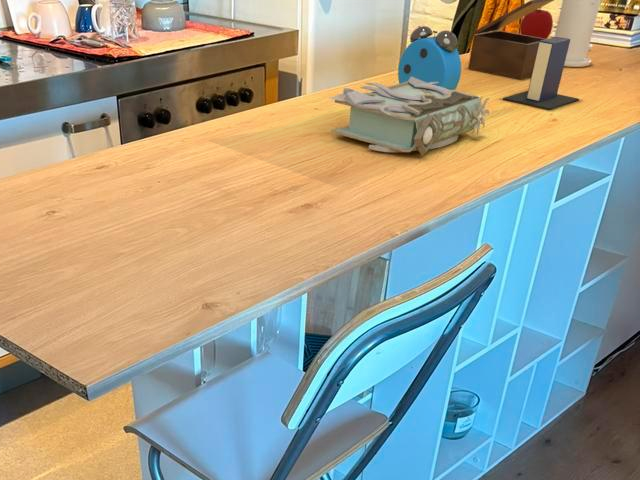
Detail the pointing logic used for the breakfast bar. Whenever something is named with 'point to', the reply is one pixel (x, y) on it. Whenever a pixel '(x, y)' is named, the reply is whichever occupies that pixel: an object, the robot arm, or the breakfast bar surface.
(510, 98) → the mat
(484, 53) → the chest
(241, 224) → the breakfast bar surface
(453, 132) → the ornate book
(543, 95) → the book
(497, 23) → the lid
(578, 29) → the robot arm
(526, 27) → the apple
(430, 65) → the alarm clock
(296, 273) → the breakfast bar surface
